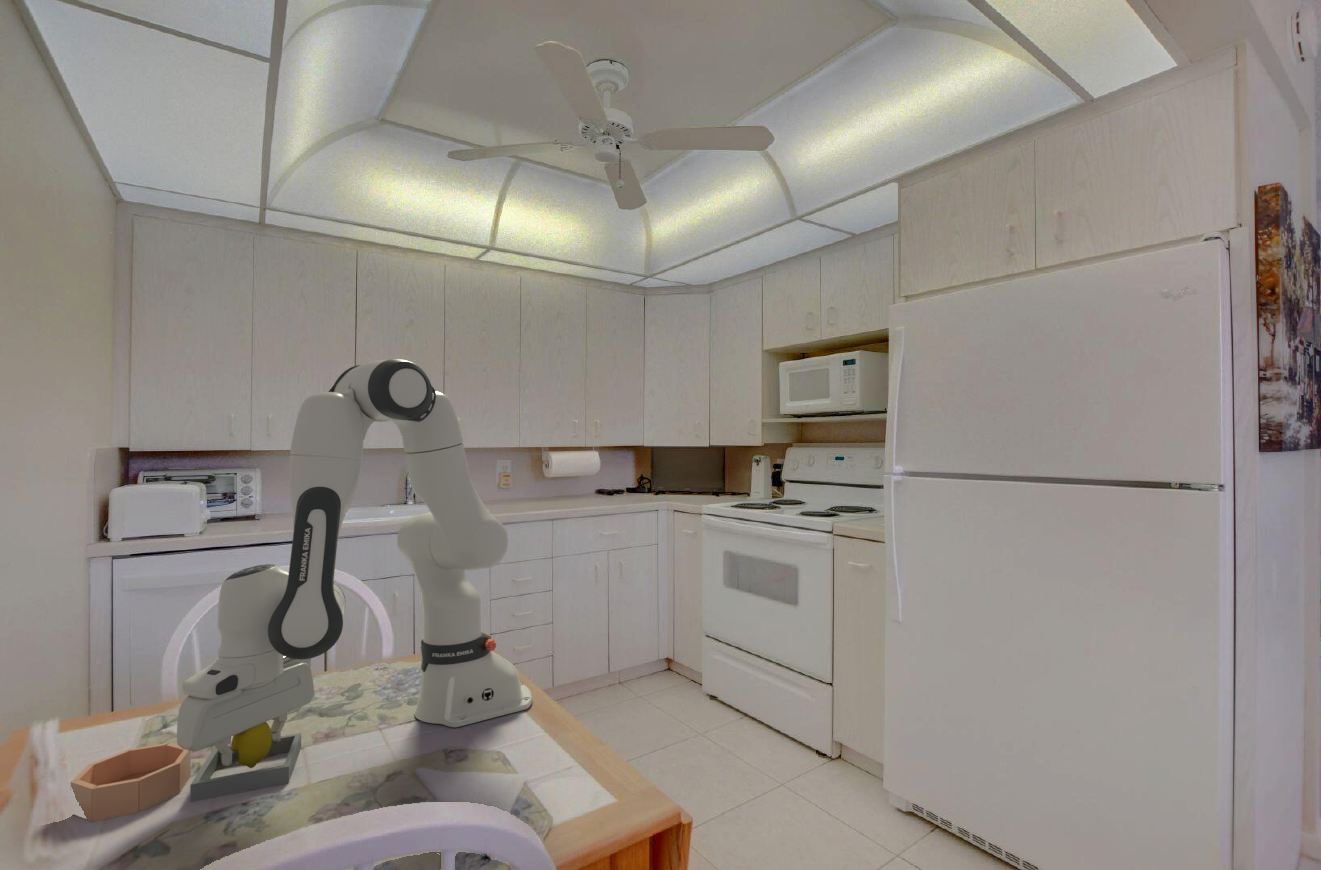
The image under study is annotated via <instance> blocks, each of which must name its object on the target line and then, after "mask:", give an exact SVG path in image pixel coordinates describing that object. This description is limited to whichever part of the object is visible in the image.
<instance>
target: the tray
mask: <svg viewBox="0 0 1321 870" xmlns="http://www.w3.org/2000/svg"><path fill="white" fill-rule="evenodd" d="M227 745H228V746H229V748H230V749H231V744H227ZM301 748H302V733H301V732H299V733H298V732H297V733H294V734H288V735H287V734H286V735H281V740H280V741H279V742H277V743H275V744H273V745H271V748H270V751H269V753H268V754H267V756H272V755H276V754H282V753H287V755H286V757H285V758H286V759H285V761H284V764H283V765H277V766H272V767H267V768H262V769H256V770H250V771H245V772H240V773H235V774H229V775H223V776H219V777H213V774H214V772H216V769H217V768H218V766H219V765H220V764H221V765H223V764H222V753H220V752H219V751H218V750H217V748H216V747H215V746H214V747H213V749H212V750H211V752H210V753H209V755H208V757H207V759H206V760H205V761H204V763H203V764H202V766H201V767H200V769H199V770H198V772H197V774H196V776H195V777H194V779H193V780H192V782H191V783H190V784H189V785H190V789H189V791H190V795H189V796H190V803H191V802H192V803H193V802H196V801H197V802H199V801H202V800H206V799H207V800H208V799H211V798H217V797H223V796H227V795H233V794H237V793H242V792H249V791H252V790H258V789H263V788H269V787H272V786H273V787H274V786H279V785H284V784H288V783H290V781H291V778H292V775H293V771H294V769H295V767H296V763H297V761H298V757H299V755H300V751H301ZM212 777H213V778H212Z"/></svg>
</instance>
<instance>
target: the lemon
mask: <svg viewBox="0 0 1321 870" xmlns="http://www.w3.org/2000/svg"><path fill="white" fill-rule="evenodd" d="M271 744H272V733H271V727H270V726H269V724H268V722H267V721H266V722H264V723H262V724H259V725H257V726H255V727H252V728H250V729H248V730H245V731H243V732H241V733H238V734H236V735H234V736H232V737H231V743H230V745H231V749H234V750H238V756H237V757H238V761H237V762H236V763H237V764H238V765H240V766H243V767H248V768H250V769H253V768H255V767H256V765H257V764H259V763H260V762H262V761H263V760H264V759H266V757H267V756H268V755H267V754H268V753H269V751H270V748H271Z"/></svg>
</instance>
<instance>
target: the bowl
mask: <svg viewBox="0 0 1321 870" xmlns="http://www.w3.org/2000/svg"><path fill="white" fill-rule="evenodd" d="M191 752H192V751H189V750H186V749H183V748H181V747H180V746H179V745H178V743H173V742H164V743H159V744H158V743H157V744H153V745H152V744H151V745H146V746H141V747H136V748H135V747H134V748H129V749H126V750H124V751H120V752H119V753H115V754H113V755H110V756H108V757H106V758H103V759H100V760H98V761H94V762H92V763H90V764H88V765H86V766H85V767H84V768H83V770H81V771H80V772H79V773H78V774H77V775H76V776H75V777H74V778H73V779H72V780H71V781H70V788H71V787H72V789H73V792H74V794H75V798H76V800H77V802H79V806H81V808H82V810H83V811H84V815H85V816H86V818H87V819H88V820H87V821H89V822H96V821H102V820H106V819H112V818H117V817H122V816H127V815H131V814H137V813H138V814H139V813H140V812H143V811H144V810H147V809H149V808H151V807H153V806H155V805H157V804H159V803H162V802H164V801H166V800H168V799H170V798H172V797H174V796H177V795H179V794H180V793H181V792H182V790H183V788H184V787H185V786H186V784H187V783H188V781H189V779H190V778H191V770H192V767H191V760H192V759H191V757H192V756H191Z"/></svg>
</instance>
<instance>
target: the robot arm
mask: <svg viewBox="0 0 1321 870" xmlns="http://www.w3.org/2000/svg"><path fill="white" fill-rule="evenodd" d="M389 421H391V422H393V423H394V425H396V426H397V428H398V430H399V432H400V435H401V438H402V445H403V450H404V451H403V452H404V455H405V462H406V467H407V471H408V478H409V482H410V488H411V489H412V492H413V493H414V494H415V496H416V497H417V498H419V499H420V500H421V501H422V502H423V503H424V504H425V505H426V507H427V508H428V510H429V511H430V512H429V511H428V512H425V513H421V514H417V515H413V516H411V517H409V518H407V519H406V520H405V521H404V522H403V523H402V524H401V526H400V527H399V530H398V534H397V539H396V540H397V541H396V542H397V548H398V550H399V553H400V554H401V555H402V557H403V558H404V559H405V560H406V561H407V562H408V564H409V566H410V568H411V569H412V572H413V574H414V577H415V581H416V583H417V586H418V589H419V594H420V598H421V605H422V606H421V607H422V630H423V631H422V634H423V638H422V640H421V642H420V651H419V652H420V653H419V656H420V657H419V658H420V659H419V661H420V670H421V681H420V682H421V683H420V689H419V695H418V700H417V703H416V707H415V710H414V717H415V718H416V719H417V720H419V721H421V722H424V723H427V724H428V723H429V724H437V725H438V724H439V725H443V726H447V727H449V728H459V727H462V726H467V725H471V724H475V723H478V722H482V721H486V720H489V719H493V718H498V717H501V716H505V715H508V714H512V713H516V712H520V711H524V710H527V709H529V708H530V706H531V705H532V704H533V703H532V702H533V697H532V693H531V692H532V691H531V690H530V689H529V688H528V687H527V685H525V684H524V683H522V682H521V680H520V676H519V672H518V670H517V669H516V667H515V665H513V663H512V662H510V661H509V660H507V659H505V658H504V657H502V656H501V655H499V654H498V653H495V650H496V648H497V643H496V640H495V639H494V638H492V637H491V636H490V635H489V634H488V633H487V632H485V633H484V632H482V599H481V595H480V593H479V591H478V590H477V588H475V587H474V586H473V585H472V583H471V582H470V580H469V578H468V577H467V573H466V571H473V572H474V571H479V570H485V569H491V568H493V567H495V566H497V565H498V564H500V562H501V561H502V560H503V559H504V557H505V555H506V554H507V553H506V552H507V550H508V546H509V537H508V532H507V529H506V527H505V525H504V524H503V523H502V522H501V521H500V520H499V519H497V518H496V517H495V516H494V515H493V514H492V513H491V512H490V511H489V510H488V509H487V507H486V506H485V504H484V503H483V501H482V499H481V497H480V496H479V493H478V492H477V490H476V488H475V486H474V483H473V480H472V478H471V475H470V474H471V473H470V469H469V464H468V461H467V455H466V449H465V445H464V440H463V439H464V438H463V435H462V430H461V427H460V423H459V419H458V416H457V414H456V411H455V409H454V406H453V403H452V401H451V399H450V398H449V397H448V395H447V394H444V393H442V392H440V391H437V390H436V388H434V387H433V386H432V383H431V381H430V379H429V377H428V375H427V373H426V372H425V371H424V370H423V369H422V368H421V367H420V366H419V365H417V364H416V363H415V362H411V361H409V360H406V359H400V358H390V359H379V360H371V361H369V362H368V361H367V362H365V363H364V364H357V365H354V366H351V367H349V368H348V369H346V370H344V371H343V372H342V373H341V374H340V375H339V376H338V378H337V379H336V381H335V382H334V384H333V385H332V386H331V387H330V389H329V390H328V391H324V392H317V393H314V394H312V395H309V396H308V397H306V398H305V399H304V400H303V401H302V404H301V405H300V408H299V411H298V414H297V417H296V421H295V423H294V428H293V432H292V438H291V445H290V452H289V453H290V455H289V465H288V479H289V492H290V499H291V501H290V503H291V508H292V511H291V512H292V524H293V525H292V526H293V532H292V533H293V534H292V544H291V550H290V552H291V553H290V558H289V559H290V560H289V568H288V571H286V570H284V569H282V568H280V566H278V565H276V564H271V563H268V564H267V563H266V564H259V565H255V566H254V565H253V566H250V567H247V568H243V569H241V570H238V571H236V572H233V574H231V575H229V576H227V578H225V580H224V581H223V582H222V584H221V586H220V591H219V598H218V607H217V630H218V631H219V634H220V645H219V648H218V652H217V660H214V661H213V662H212V663H211V664H209V665H208V666H206V667H204V668H203V669H201V670H200V671H198V672H196V673H195V674H193V675H192V676H190V677H188V678H187V679H186V680H185V681H183V682H182V686H181V687H182V689H181V691H182V693H183V694H184V695H187V696H186V698H184V699H183V701H182V702H181V704H180V706H179V709H178V715H177V716H178V717H177V725H176V744H178V745H179V746H180V747H181V748H183V749H186V750H189V751H191V752H194V753H195V752H198V751H201V750H203V749H206V748H208V747H210V746H214V748H215V747H216V748H217V750H218V751H219V752H220V753H222V764H221V765H223V766H225V767H229V766H231V765H232V764H235V763H237V761H238V757H237V756H238V750H234V749H230V748H229V746H228V745H231V743H232V737H233V736H234V735H236V734H238V733H241V732H243V731H245V730H248V729H250V728H252V727H255V726H257V725H259V724H262V723H264V722H266V723H267V722H268V721H270V720H272V721H273V722H272V724H271V727H270V729H271V733H272V744H271V745H273V744H275V743H277V742H279V741H280V740H281V736H282V735H281V734H282V733H281V732H282V731H283V729H284V726H285V724H286V722H287V721H288V713H289V712H292V711H294V710H297V709H299V708H301V707H303V706H306V705H309V704H311V702H312V700H313V699H314V697H315V684H314V678H313V672H312V669H311V667H312V663H311V662H312V659H313V658H316V657H319V656H321V655H323V654H325V653H326V652H328V651H329V650H330V649H332V648H333V647H334V646H335V644H336V643H337V642H338V640H339V639H340V637H341V635H342V632H343V627H344V614H345V609H346V597H345V593H344V592H343V590H342V588H341V587H340V586H339V585H337V584H336V583H334V582H335V570H336V559H337V553H338V551H337V550H338V541H339V535H340V531H341V527H342V524H343V522H344V519H345V517H346V515H347V513H348V511H349V508H350V507H351V504H352V503H353V501H354V498H355V496H356V493H357V490H358V488H359V487H358V486H359V483H360V478H361V474H362V468H363V462H364V461H363V457H364V440H365V438H366V435H367V432H368V430H369V428H370V427H371V425H372V424H373V423H375V422H378V423H379V422H380V423H381V422H389Z"/></svg>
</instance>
